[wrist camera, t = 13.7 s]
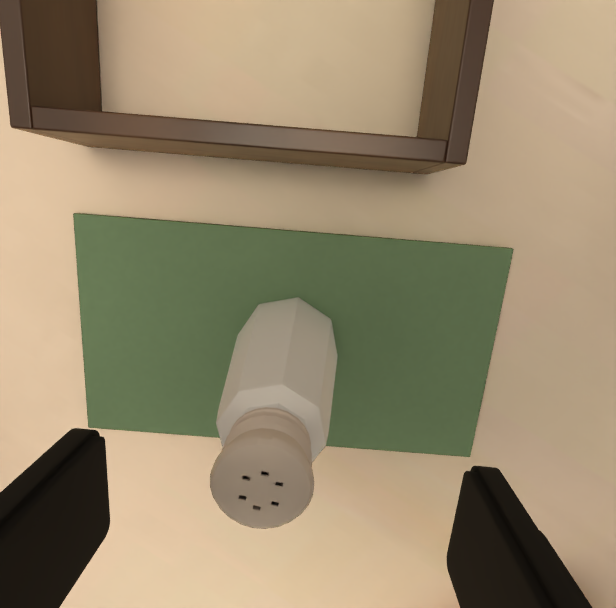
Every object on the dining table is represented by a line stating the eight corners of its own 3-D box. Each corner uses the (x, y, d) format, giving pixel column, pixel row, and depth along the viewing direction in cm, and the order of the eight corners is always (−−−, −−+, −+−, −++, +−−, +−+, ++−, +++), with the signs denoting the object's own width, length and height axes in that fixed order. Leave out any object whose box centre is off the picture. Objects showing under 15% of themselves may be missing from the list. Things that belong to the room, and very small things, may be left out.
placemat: (510, 247, 20) (514, 248, 20) (467, 453, 23) (470, 457, 23) (77, 213, 20) (72, 213, 19) (91, 424, 23) (88, 427, 22)
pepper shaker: (247, 285, 20) (171, 377, 10) (349, 307, 20) (387, 422, 10) (229, 379, 22) (146, 553, 11) (326, 399, 22) (337, 589, 11)
